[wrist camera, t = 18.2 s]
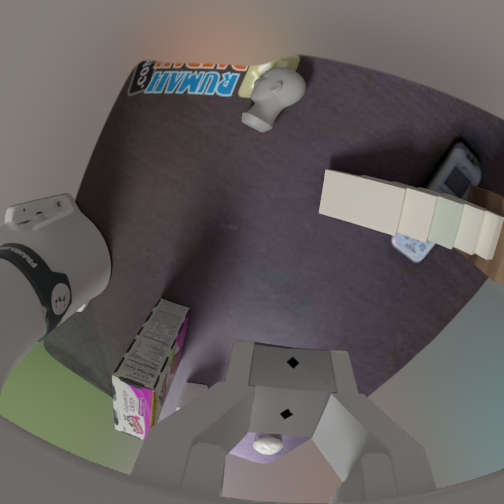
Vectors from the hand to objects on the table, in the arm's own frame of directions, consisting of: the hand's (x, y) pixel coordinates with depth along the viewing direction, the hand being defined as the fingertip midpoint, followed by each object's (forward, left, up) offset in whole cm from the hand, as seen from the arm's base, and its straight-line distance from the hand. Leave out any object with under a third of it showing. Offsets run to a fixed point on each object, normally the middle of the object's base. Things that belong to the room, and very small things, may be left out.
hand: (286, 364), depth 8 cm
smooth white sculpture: (-2, +9, -30) cm, 31 cm away
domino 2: (+9, 0, -28) cm, 30 cm away
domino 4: (+17, 0, -29) cm, 33 cm away
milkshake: (+4, -37, -29) cm, 47 cm away
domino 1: (+5, 0, -28) cm, 29 cm away
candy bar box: (-13, -23, -29) cm, 39 cm away
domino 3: (+13, 0, -28) cm, 31 cm away
